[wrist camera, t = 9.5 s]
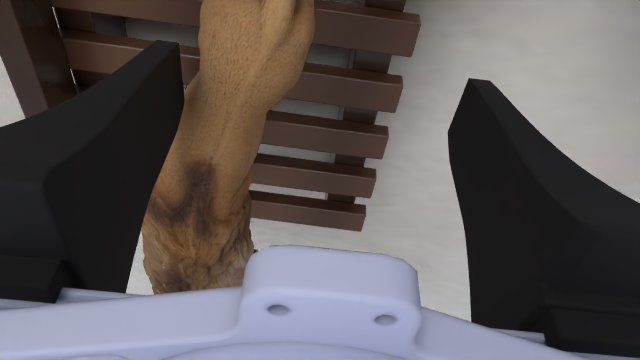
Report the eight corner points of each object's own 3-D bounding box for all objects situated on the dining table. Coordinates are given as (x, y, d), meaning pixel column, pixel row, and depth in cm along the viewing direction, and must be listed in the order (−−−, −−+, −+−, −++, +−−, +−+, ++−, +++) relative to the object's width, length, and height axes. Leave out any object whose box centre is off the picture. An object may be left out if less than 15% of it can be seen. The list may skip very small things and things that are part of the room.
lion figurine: (266, 196, 25) (272, 359, 19) (156, 184, 24) (120, 355, 17) (340, -136, 16) (405, -53, 10) (171, -181, 15) (106, -121, 8)
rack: (459, -190, 18) (488, -138, 14) (361, 185, 33) (360, 270, 28) (8, -262, 17) (-117, -232, 13) (113, 152, 32) (71, 233, 28)
